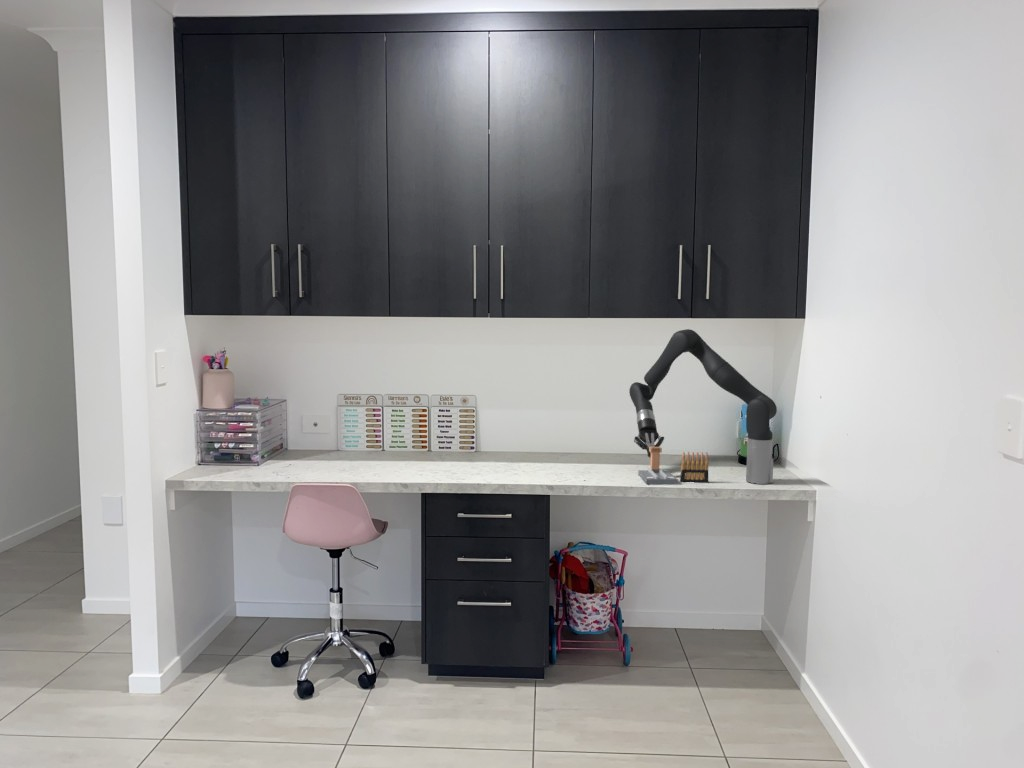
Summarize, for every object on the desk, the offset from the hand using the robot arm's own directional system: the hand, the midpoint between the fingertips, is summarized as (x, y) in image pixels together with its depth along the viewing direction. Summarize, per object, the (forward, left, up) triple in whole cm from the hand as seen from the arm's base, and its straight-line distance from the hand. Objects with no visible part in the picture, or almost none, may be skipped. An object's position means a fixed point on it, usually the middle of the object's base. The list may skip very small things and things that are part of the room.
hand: (651, 457), depth 325 cm
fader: (0, +6, -5) cm, 7 cm away
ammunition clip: (-14, +15, -7) cm, 22 cm away
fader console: (0, +11, -7) cm, 13 cm away
